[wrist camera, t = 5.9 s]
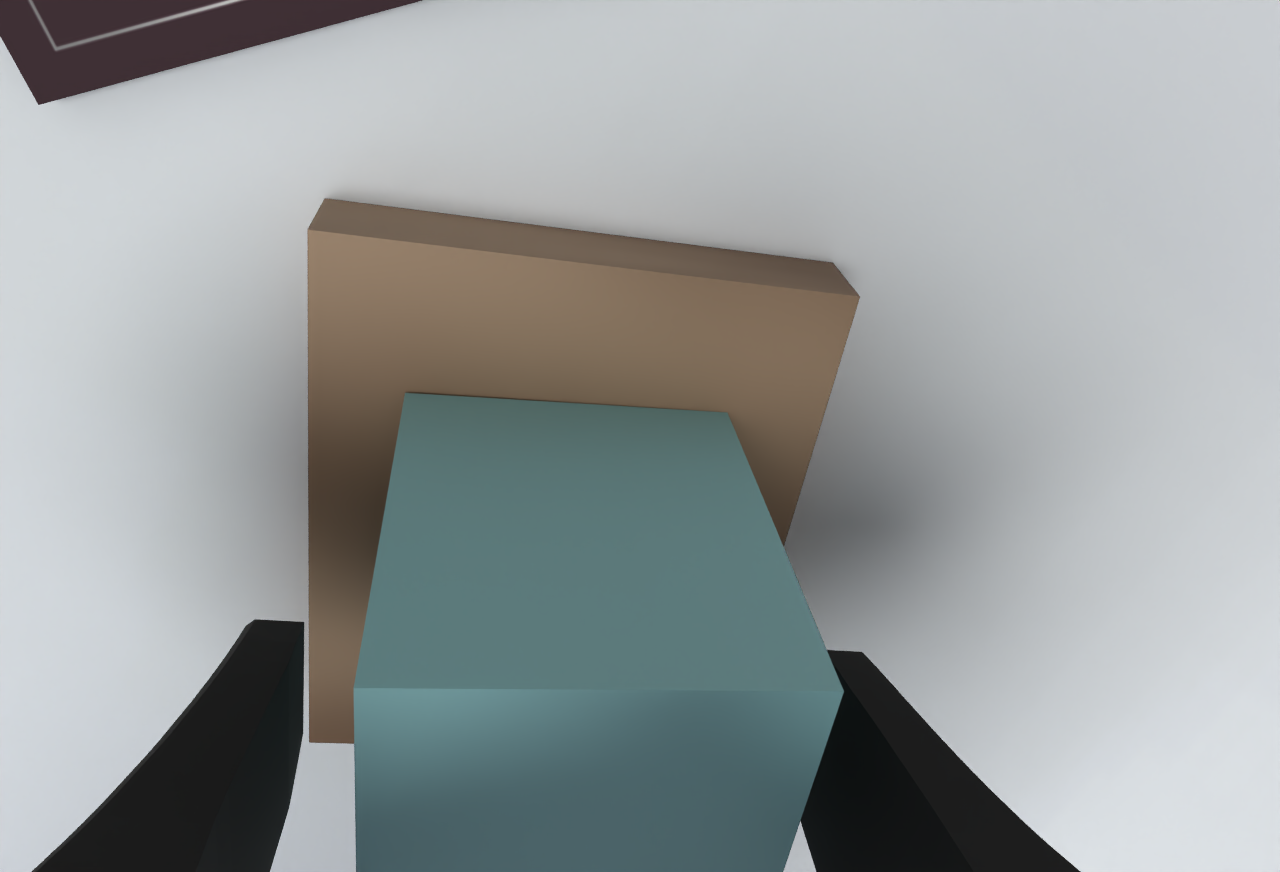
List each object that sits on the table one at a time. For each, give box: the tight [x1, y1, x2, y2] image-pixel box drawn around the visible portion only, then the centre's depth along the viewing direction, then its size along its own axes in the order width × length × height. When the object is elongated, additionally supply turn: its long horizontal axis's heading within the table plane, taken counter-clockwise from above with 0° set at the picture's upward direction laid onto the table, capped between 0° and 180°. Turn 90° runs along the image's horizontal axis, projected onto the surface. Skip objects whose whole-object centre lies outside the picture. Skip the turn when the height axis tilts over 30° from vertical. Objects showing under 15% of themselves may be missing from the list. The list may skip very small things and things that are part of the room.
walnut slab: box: [308, 199, 860, 744], centre depth 17 cm, size 10×8×2 cm
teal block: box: [354, 393, 844, 872], centre depth 13 cm, size 5×5×6 cm
